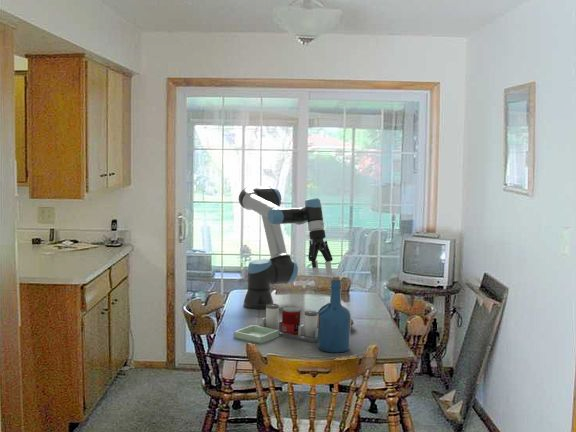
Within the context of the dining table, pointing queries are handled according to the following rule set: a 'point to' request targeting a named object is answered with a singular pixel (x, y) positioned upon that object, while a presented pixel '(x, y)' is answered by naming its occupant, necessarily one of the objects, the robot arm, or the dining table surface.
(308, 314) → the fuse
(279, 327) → the fuse block
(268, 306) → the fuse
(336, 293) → the wine bottle
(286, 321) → the canned food
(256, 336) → the tray
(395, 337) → the dining table surface
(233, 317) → the dining table surface
